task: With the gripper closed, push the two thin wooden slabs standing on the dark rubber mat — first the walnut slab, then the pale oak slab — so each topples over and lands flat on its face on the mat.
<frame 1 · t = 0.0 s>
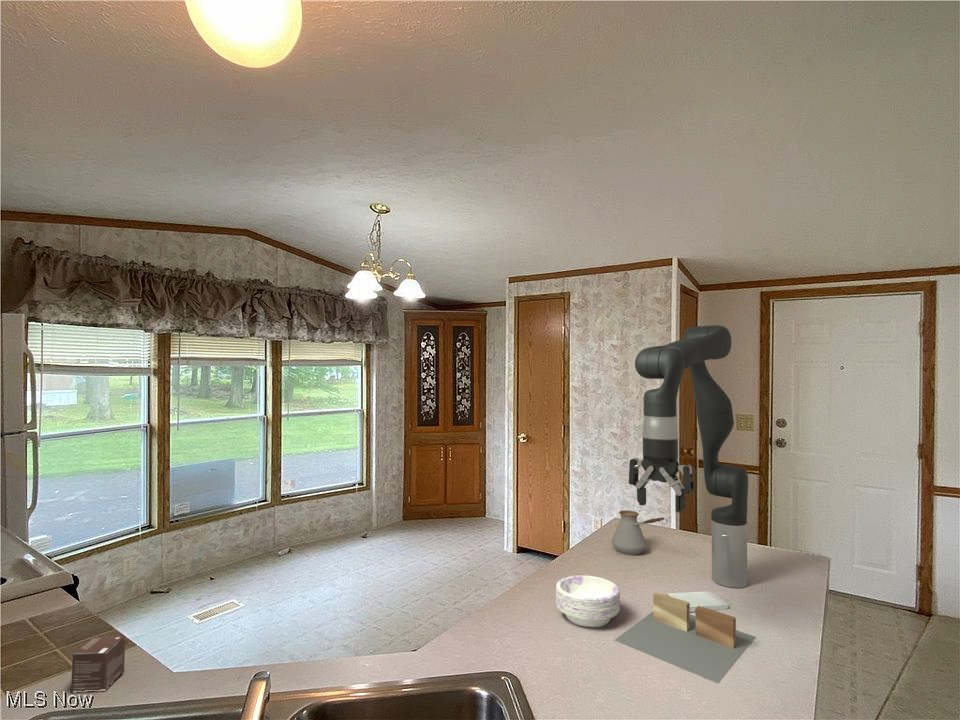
hand: (660, 508, 112), 29 cm above the counter, tool pointing down, fingers open, 8 cm apart
rubber mat: (685, 640, 111), on the counter
paper bowls: (587, 619, 121), on the counter
box: (98, 684, 95), on the counter
walnut slab: (715, 640, 111), resting on rubber mat
hard drive: (696, 605, 128), on the counter, touching rubber mat
pale oak slab: (671, 624, 118), resting on rubber mat
coffee pot: (639, 556, 164), on the counter
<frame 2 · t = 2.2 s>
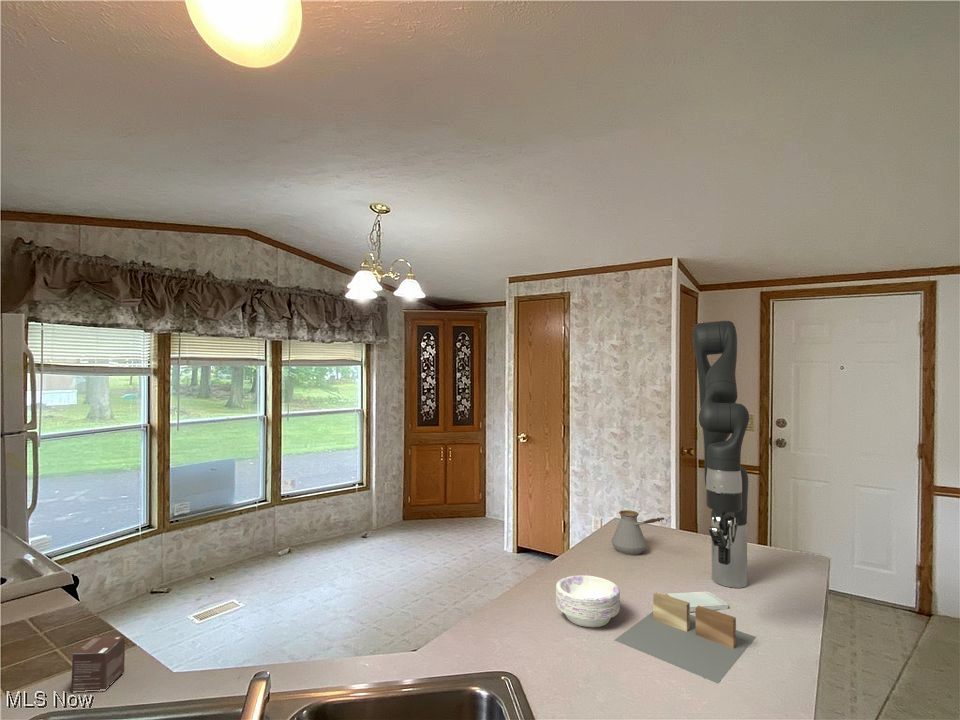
hand: (724, 563, 116), 16 cm above the counter, tool pointing down, fingers closed
nothing on the counter moved.
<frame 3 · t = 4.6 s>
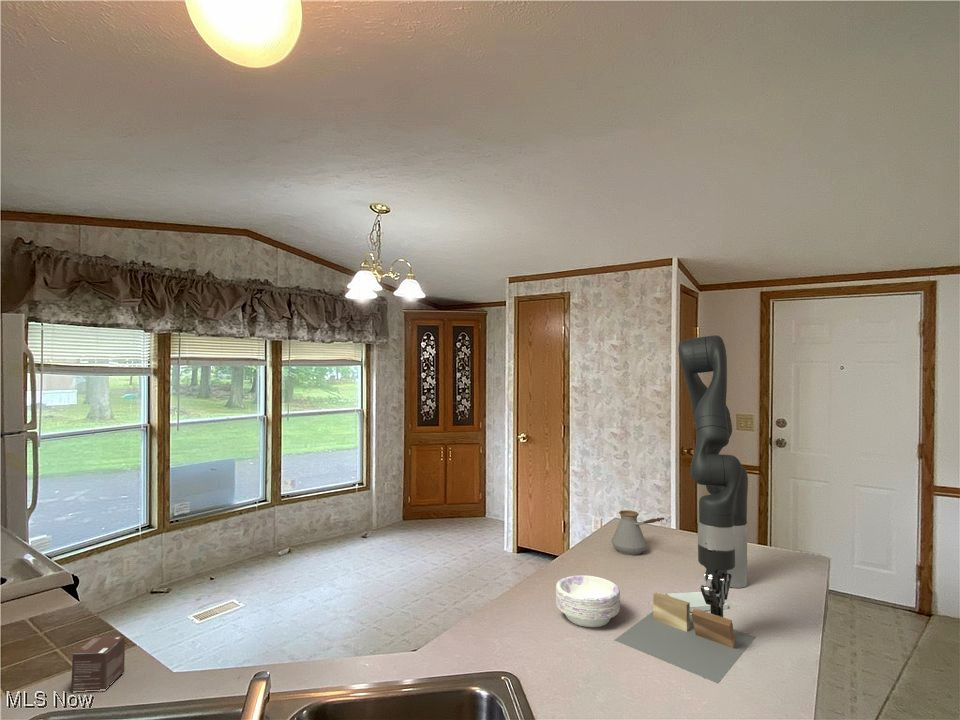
hand: (716, 621, 111), 4 cm above the counter, tool pointing down, fingers closed
walnut slab: (715, 638, 111), point 1 cm above the counter, tilted 23°, touching rubber mat
everything else where it was.
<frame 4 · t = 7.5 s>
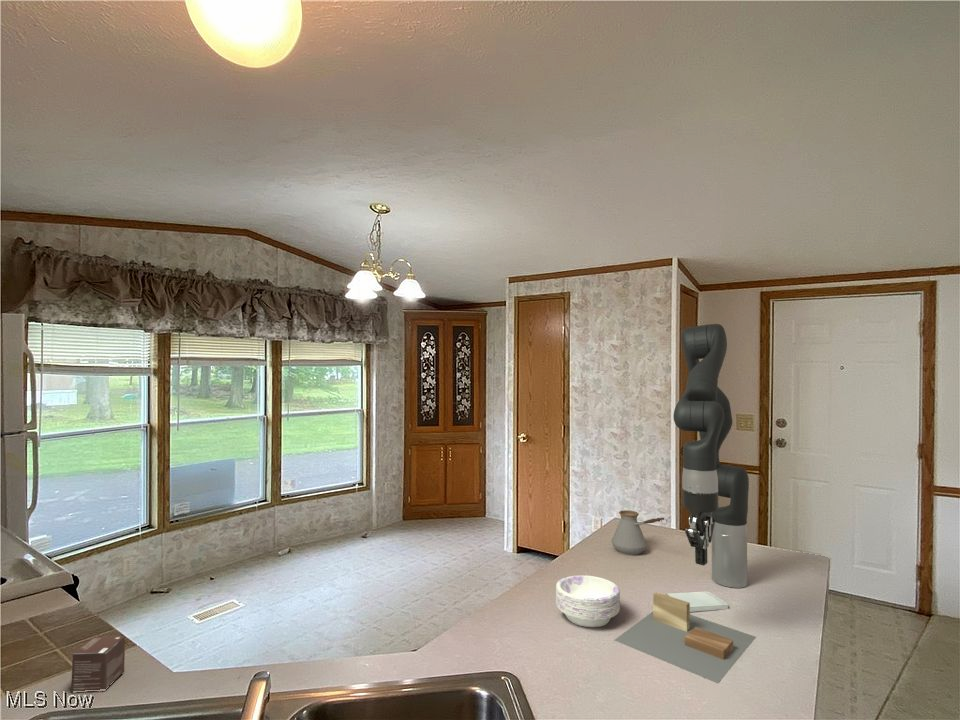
hand: (701, 563, 114), 16 cm above the counter, tool pointing down, fingers closed
walnut slab: (713, 637, 110), point 1 cm above the counter, tilted 90°, touching rubber mat
everything else where it was.
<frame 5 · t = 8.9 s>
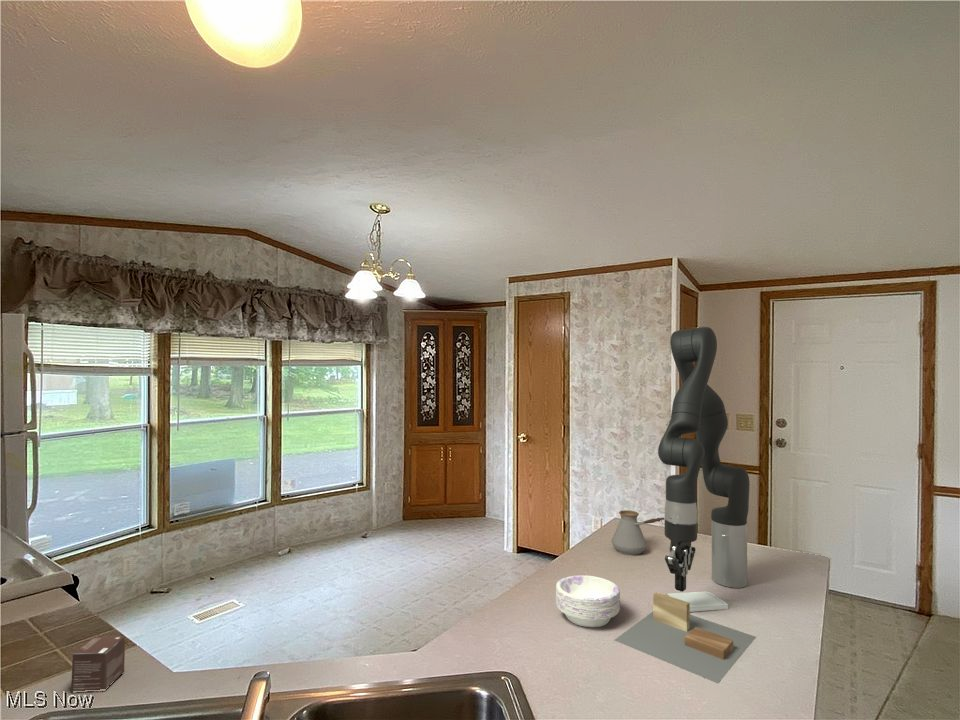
hand: (680, 589, 123), 6 cm above the counter, tool pointing down, fingers closed
nothing on the counter moved.
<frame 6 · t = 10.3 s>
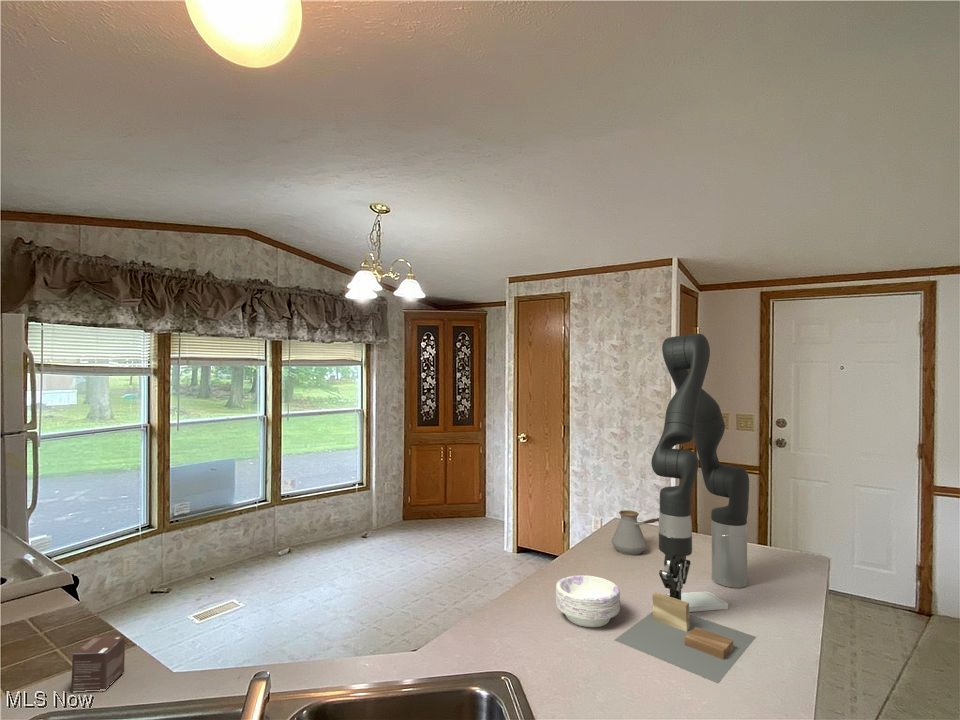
hand: (675, 604, 120), 4 cm above the counter, tool pointing down, fingers closed
pale oak slab: (671, 623, 118), resting on rubber mat, touching gripper
everything else where it was.
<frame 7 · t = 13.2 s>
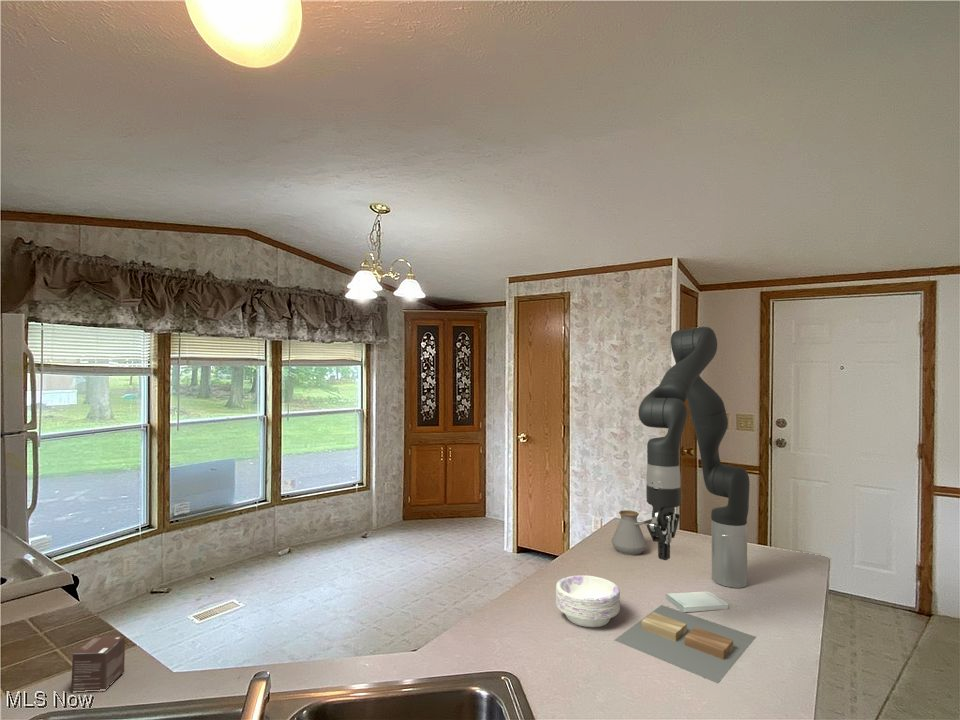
hand: (664, 558, 115), 17 cm above the counter, tool pointing down, fingers closed
pale oak slab: (669, 621, 117), point 1 cm above the counter, tilted 90°, touching rubber mat
everything else where it was.
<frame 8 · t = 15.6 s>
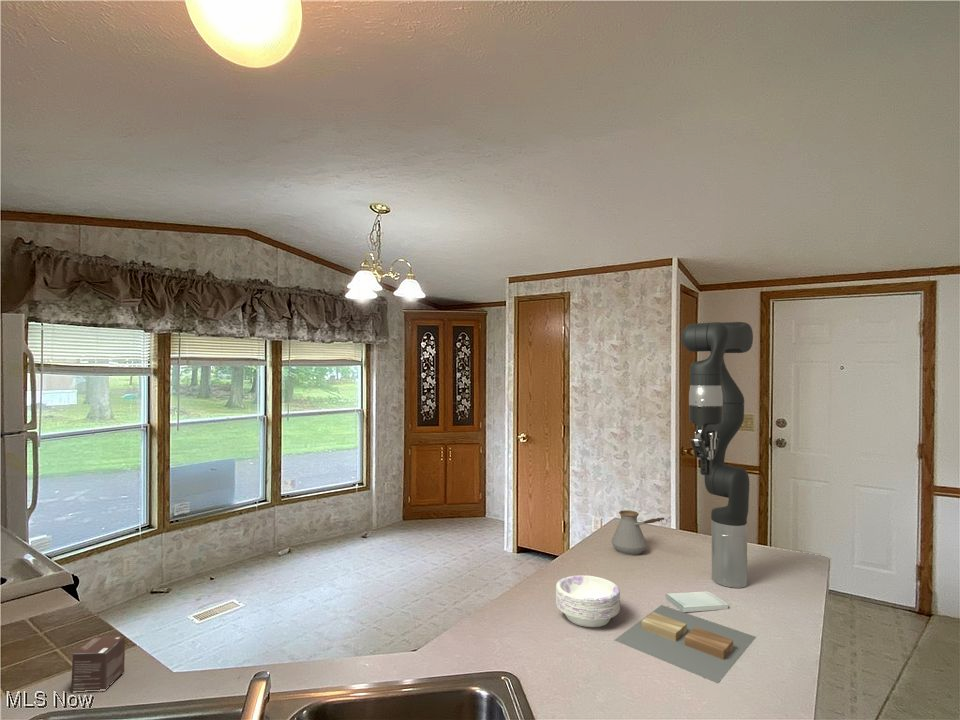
hand: (706, 474, 122), 35 cm above the counter, tool pointing down, fingers closed
nothing on the counter moved.
at the end: walnut slab tilted 90°; pale oak slab tilted 90°; walnut slab inside the target area on the rubber mat (5.7 cm from its centre), point 1.3 cm above the rubber mat's base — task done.
